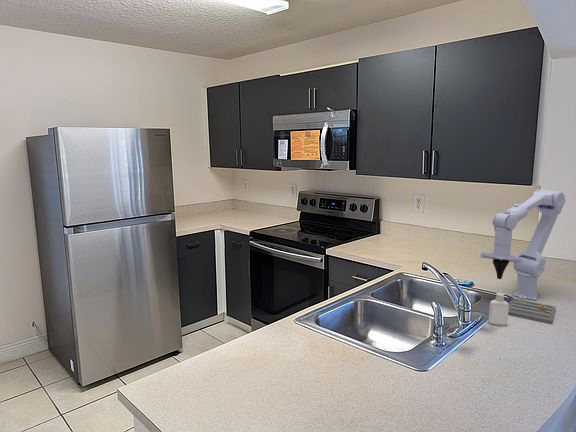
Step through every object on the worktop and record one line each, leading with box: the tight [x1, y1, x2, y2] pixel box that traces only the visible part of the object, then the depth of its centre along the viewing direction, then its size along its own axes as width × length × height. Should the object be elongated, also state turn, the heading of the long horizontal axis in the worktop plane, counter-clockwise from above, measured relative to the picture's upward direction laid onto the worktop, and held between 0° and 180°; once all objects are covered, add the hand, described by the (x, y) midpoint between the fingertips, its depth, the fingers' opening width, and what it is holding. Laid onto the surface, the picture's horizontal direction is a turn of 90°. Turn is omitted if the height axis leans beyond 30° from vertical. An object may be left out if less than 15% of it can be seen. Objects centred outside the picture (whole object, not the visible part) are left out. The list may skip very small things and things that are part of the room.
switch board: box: [508, 298, 557, 325], centre depth 149 cm, size 16×14×2 cm
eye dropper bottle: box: [488, 289, 510, 326], centre depth 139 cm, size 4×6×12 cm
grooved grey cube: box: [518, 295, 527, 303], centre depth 154 cm, size 2×2×3 cm
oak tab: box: [538, 305, 546, 313], centre depth 144 cm, size 2×2×3 cm
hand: (499, 278), depth 159 cm, fingers closed
